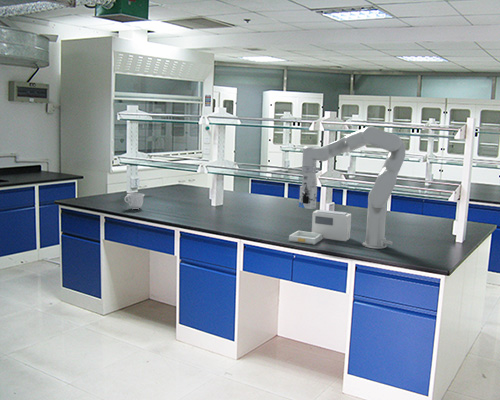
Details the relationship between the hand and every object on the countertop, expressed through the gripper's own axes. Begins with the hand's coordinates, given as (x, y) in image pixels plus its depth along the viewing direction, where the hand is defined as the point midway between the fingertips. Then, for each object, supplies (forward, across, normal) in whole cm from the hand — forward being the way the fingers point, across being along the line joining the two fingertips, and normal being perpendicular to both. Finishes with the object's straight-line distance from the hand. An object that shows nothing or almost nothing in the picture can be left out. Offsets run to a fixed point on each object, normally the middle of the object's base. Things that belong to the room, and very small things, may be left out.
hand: (307, 202), depth 283 cm
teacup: (+21, +18, +132) cm, 135 cm away
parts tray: (+21, 0, 0) cm, 21 cm away
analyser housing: (+21, +13, -10) cm, 27 cm away
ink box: (+3, 0, 0) cm, 3 cm away
